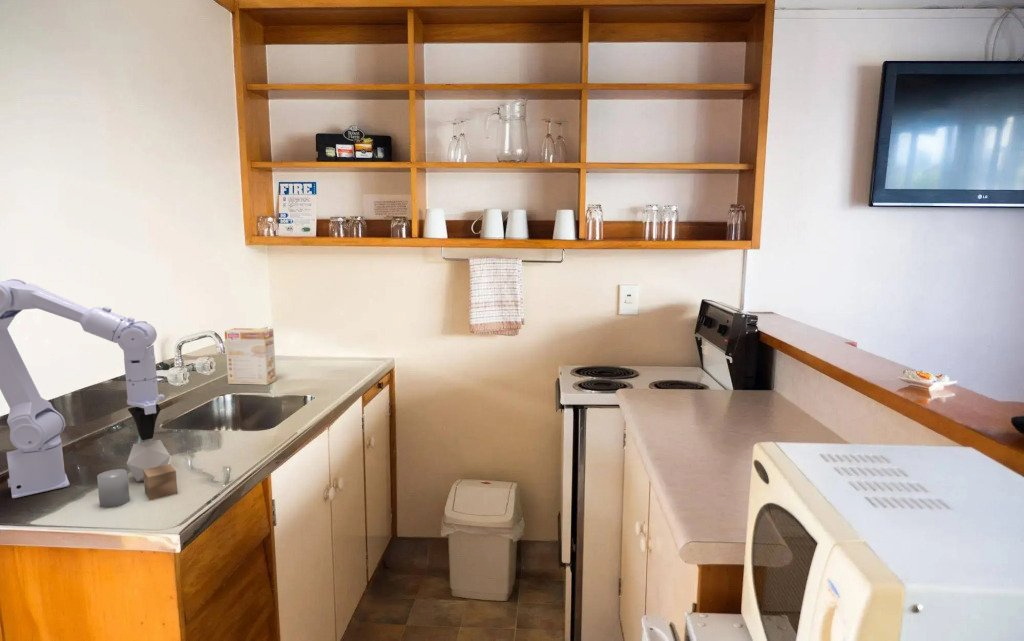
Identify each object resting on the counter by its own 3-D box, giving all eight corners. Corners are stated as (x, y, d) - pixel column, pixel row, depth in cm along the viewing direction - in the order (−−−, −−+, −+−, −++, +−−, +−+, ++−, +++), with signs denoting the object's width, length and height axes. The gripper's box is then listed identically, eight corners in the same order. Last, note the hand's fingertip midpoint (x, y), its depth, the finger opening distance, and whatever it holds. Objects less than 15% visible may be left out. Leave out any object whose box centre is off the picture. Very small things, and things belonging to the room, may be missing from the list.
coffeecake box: (276, 380, 222) (274, 328, 219) (267, 385, 214) (264, 331, 212) (238, 379, 223) (234, 327, 220) (227, 384, 216) (223, 330, 213)
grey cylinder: (101, 510, 117) (99, 481, 117) (98, 501, 121) (95, 473, 120) (131, 502, 121) (129, 474, 120) (127, 494, 124) (124, 467, 124)
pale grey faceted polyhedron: (173, 469, 140) (144, 437, 138) (185, 459, 134) (156, 426, 133) (141, 493, 133) (110, 461, 132) (153, 484, 128) (121, 450, 127)
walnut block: (149, 500, 122) (147, 477, 121) (145, 492, 126) (143, 469, 125) (177, 493, 125) (175, 470, 124) (171, 486, 129) (170, 463, 128)
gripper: (170, 381, 128) (175, 443, 130) (155, 369, 138) (160, 426, 140) (131, 386, 123) (137, 450, 125) (119, 374, 134) (124, 433, 136)
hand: (146, 438), depth 132 cm, fingers closed
